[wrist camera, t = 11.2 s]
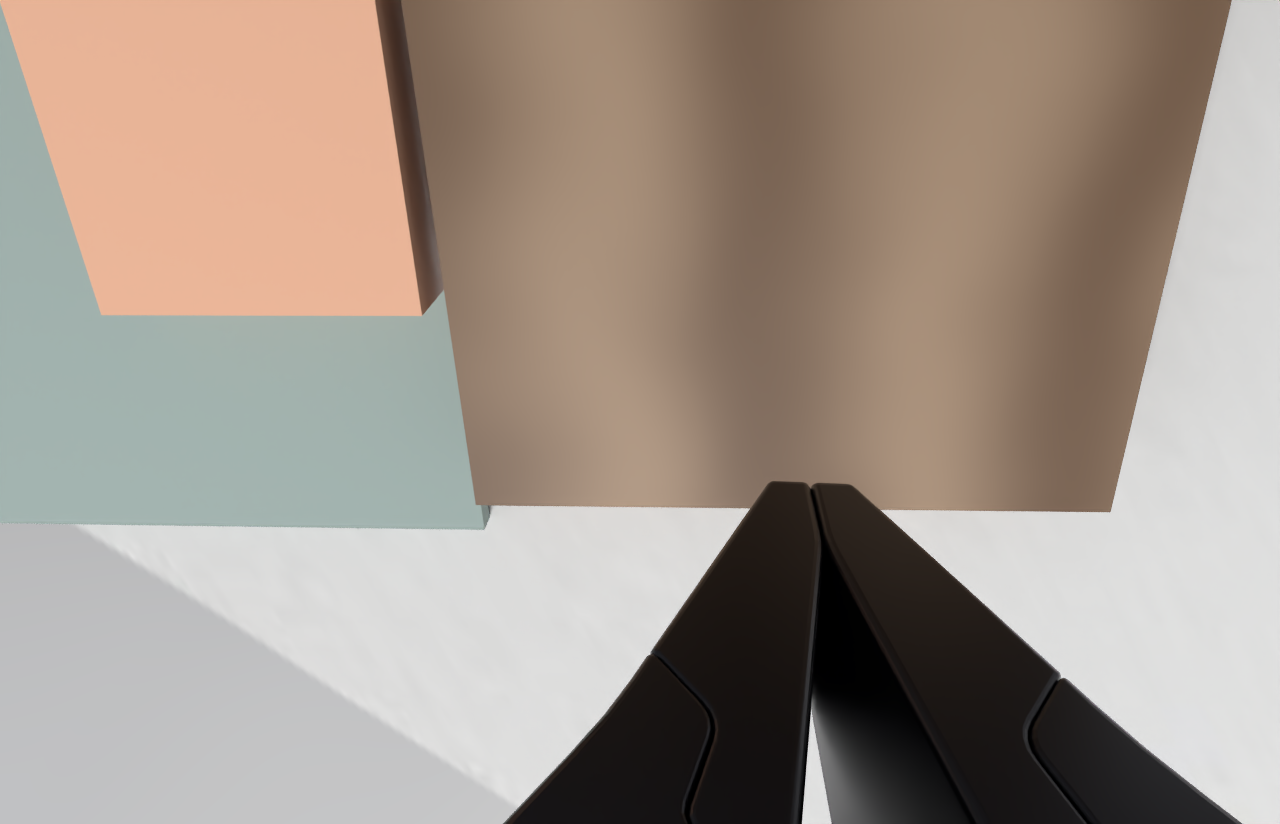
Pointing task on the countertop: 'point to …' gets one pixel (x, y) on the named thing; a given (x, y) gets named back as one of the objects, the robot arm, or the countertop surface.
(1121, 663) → the countertop surface
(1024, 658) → the robot arm
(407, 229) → the coaster
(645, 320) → the wooden block
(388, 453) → the mat
